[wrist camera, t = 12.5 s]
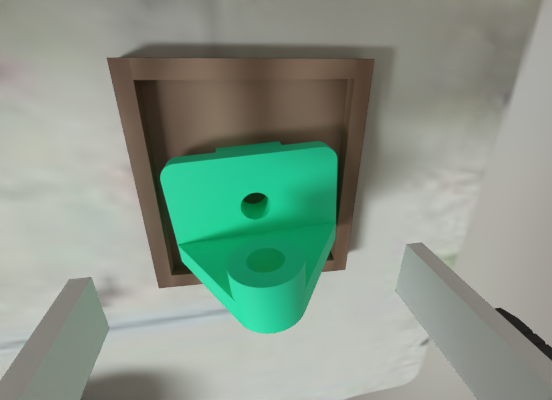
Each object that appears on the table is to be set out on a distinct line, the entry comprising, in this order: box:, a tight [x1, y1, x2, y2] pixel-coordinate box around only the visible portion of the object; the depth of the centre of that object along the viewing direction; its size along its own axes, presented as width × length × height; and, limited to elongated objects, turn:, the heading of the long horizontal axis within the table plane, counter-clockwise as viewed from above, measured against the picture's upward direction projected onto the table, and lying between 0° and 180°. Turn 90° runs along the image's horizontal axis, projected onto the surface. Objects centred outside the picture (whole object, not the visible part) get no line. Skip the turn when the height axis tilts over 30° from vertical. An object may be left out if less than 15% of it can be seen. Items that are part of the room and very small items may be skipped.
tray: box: [107, 58, 374, 288], centre depth 23 cm, size 16×17×2 cm
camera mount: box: [160, 141, 337, 334], centre depth 19 cm, size 12×8×10 cm, turn 94°
